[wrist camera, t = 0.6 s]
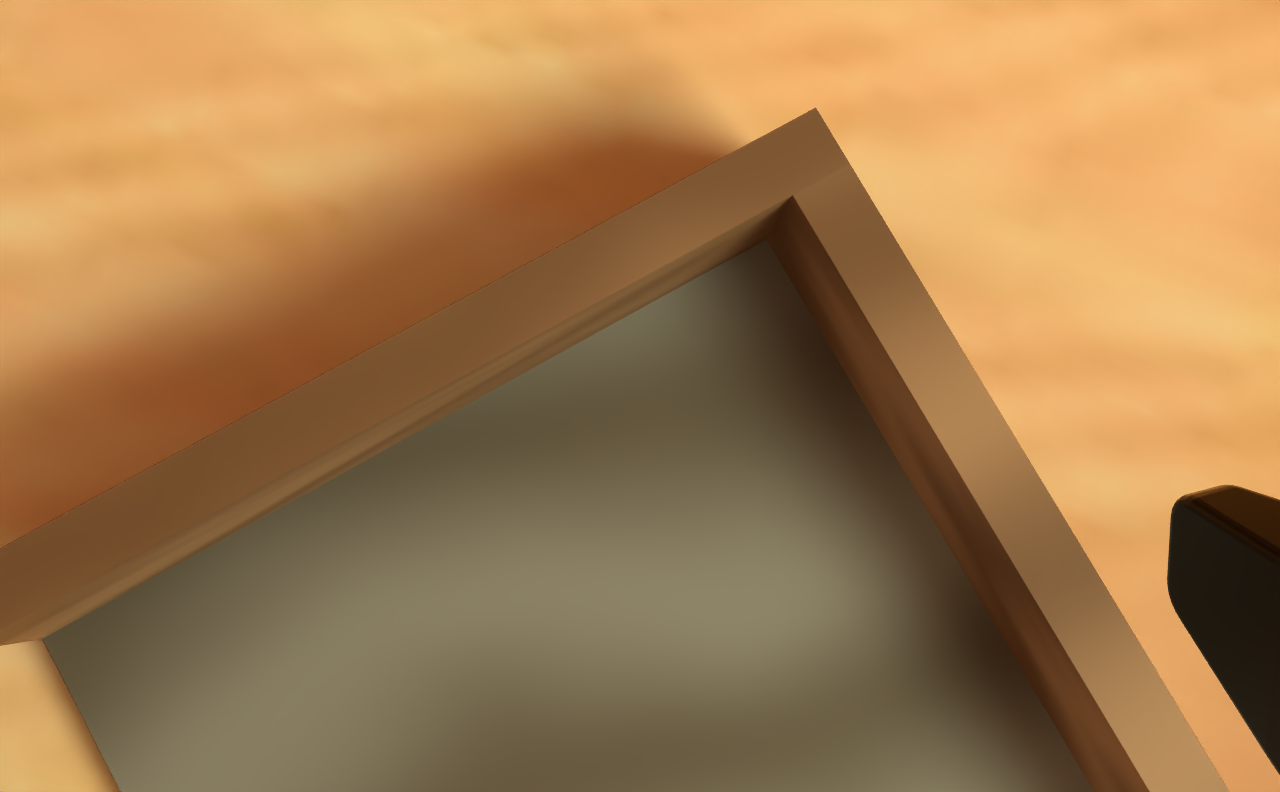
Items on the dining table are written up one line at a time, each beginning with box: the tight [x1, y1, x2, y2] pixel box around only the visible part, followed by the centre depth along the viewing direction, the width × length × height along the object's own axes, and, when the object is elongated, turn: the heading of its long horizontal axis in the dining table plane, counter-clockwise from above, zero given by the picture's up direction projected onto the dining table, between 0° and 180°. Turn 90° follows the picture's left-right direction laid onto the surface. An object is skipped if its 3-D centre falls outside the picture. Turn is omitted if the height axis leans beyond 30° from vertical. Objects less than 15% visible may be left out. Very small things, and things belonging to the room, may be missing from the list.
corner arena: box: [0, 108, 1230, 792], centre depth 21 cm, size 17×17×4 cm
